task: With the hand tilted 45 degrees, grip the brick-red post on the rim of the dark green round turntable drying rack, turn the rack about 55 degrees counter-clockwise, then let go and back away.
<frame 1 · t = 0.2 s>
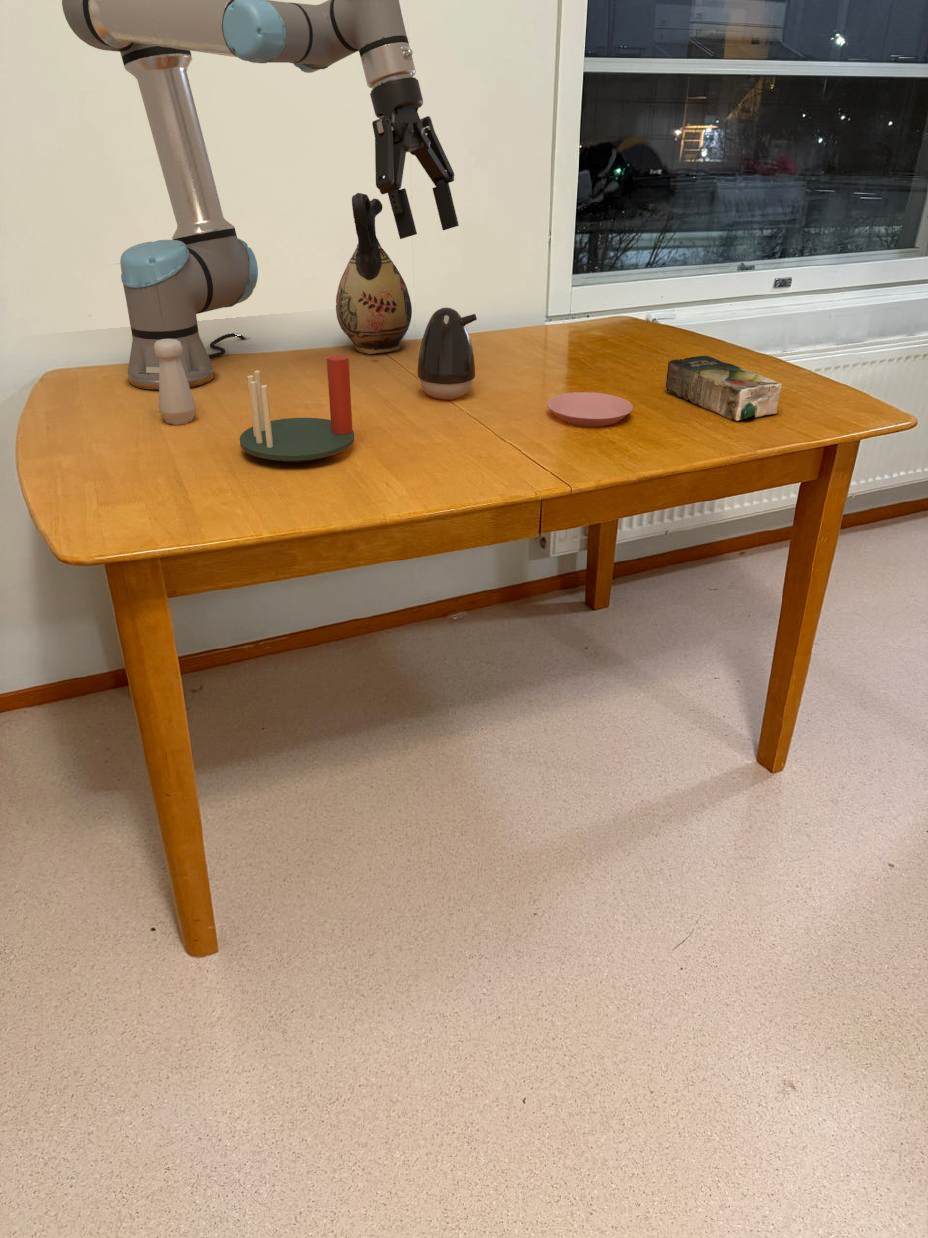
hand: (430, 232, 145), 28 cm above the table, tool tilted 20°, fingers open, 13 cm apart
pump dispenser: (446, 396, 164), on the table
salt shaker: (179, 421, 151), on the table
drying rack: (294, 403, 135), point 7 cm above the table, hinge at 0.0°
juice carton: (719, 404, 162), on the table
rack foot: (298, 450, 139), on the table
plate: (588, 417, 155), on the table
ceramic jug: (374, 350, 191), on the table
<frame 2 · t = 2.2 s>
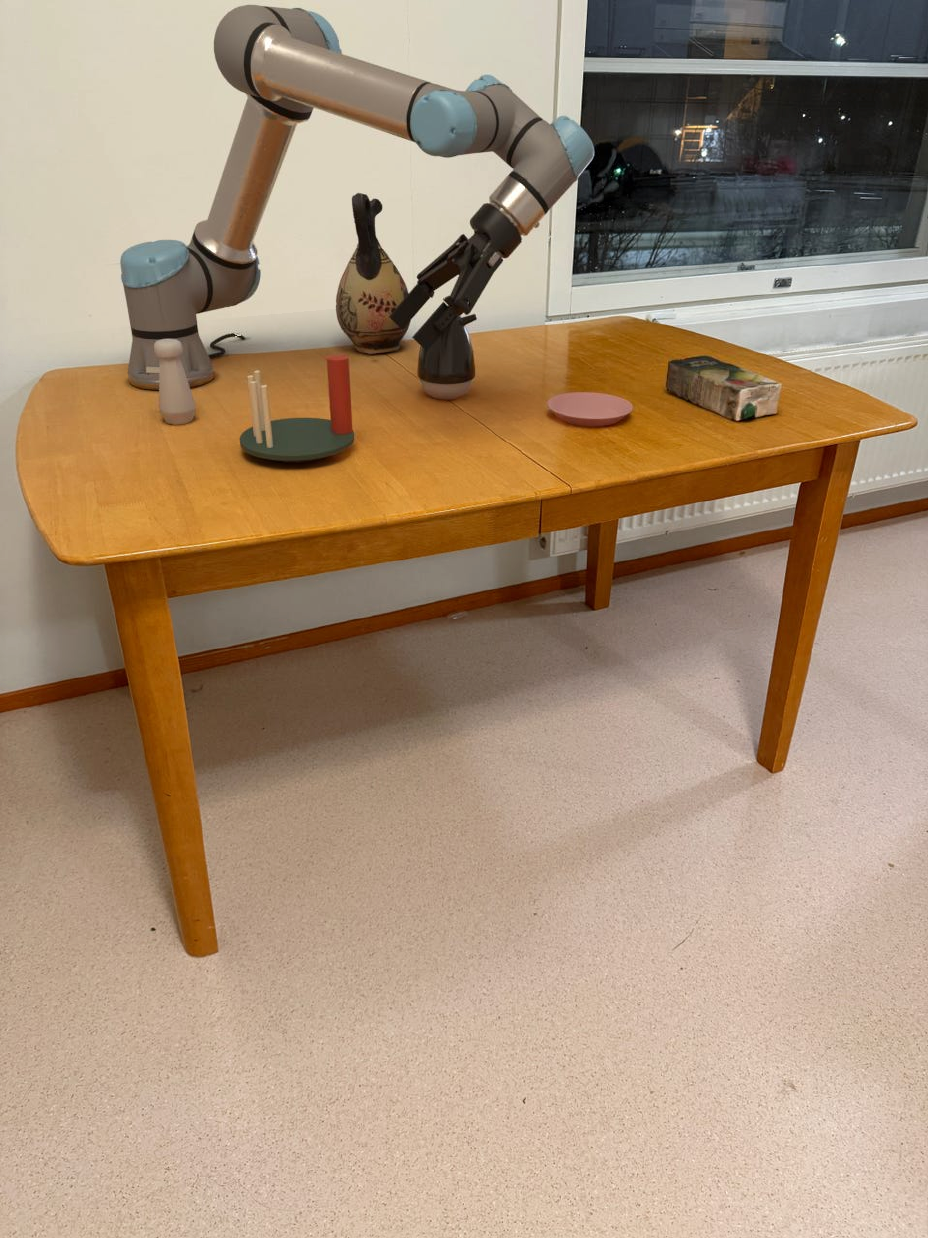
hand: (406, 333, 135), 16 cm above the table, tool tilted 45°, fingers open, 13 cm apart
nothing on the table moved.
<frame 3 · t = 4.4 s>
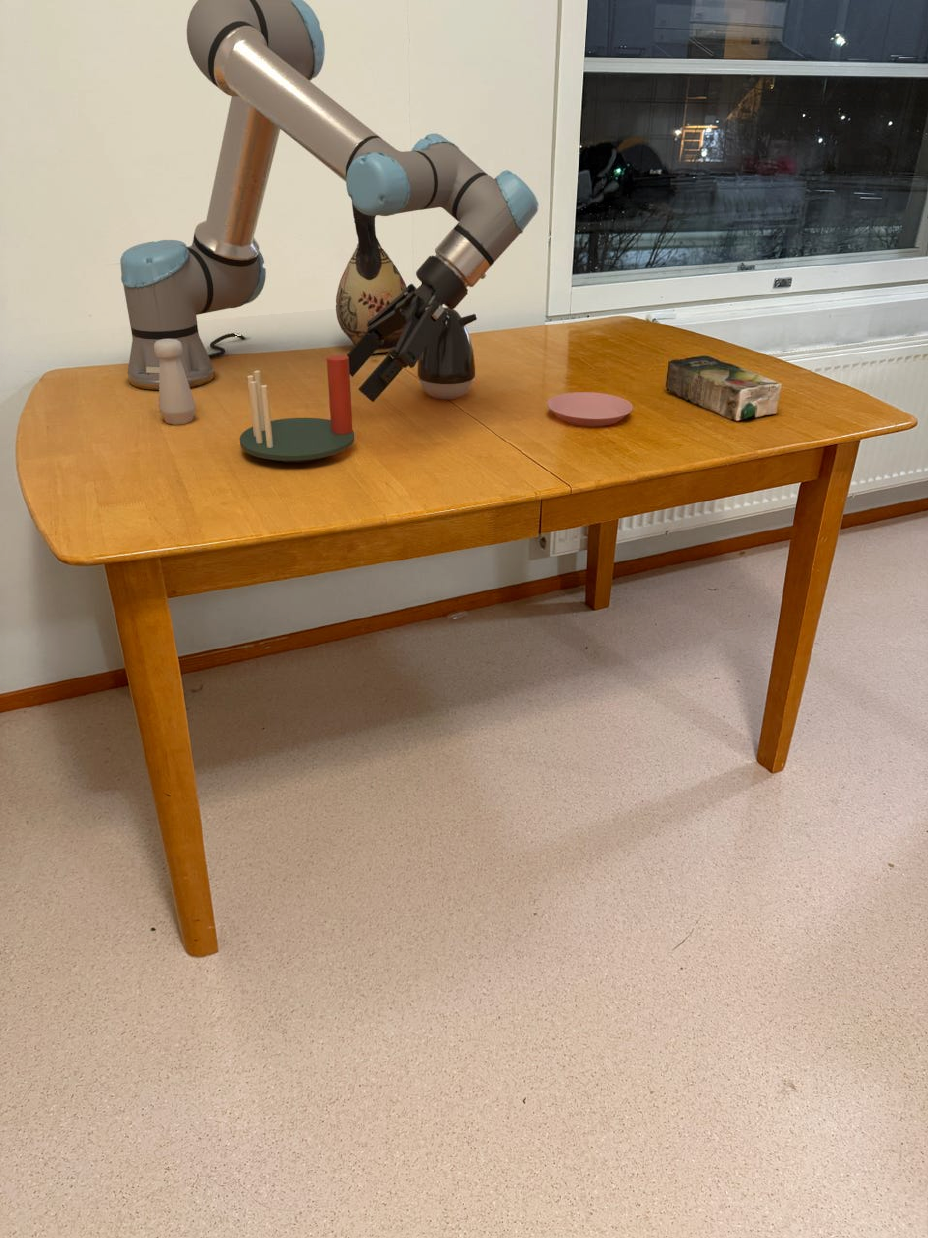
hand: (355, 382, 137), 10 cm above the table, tool tilted 45°, fingers open, 13 cm apart
nothing on the table moved.
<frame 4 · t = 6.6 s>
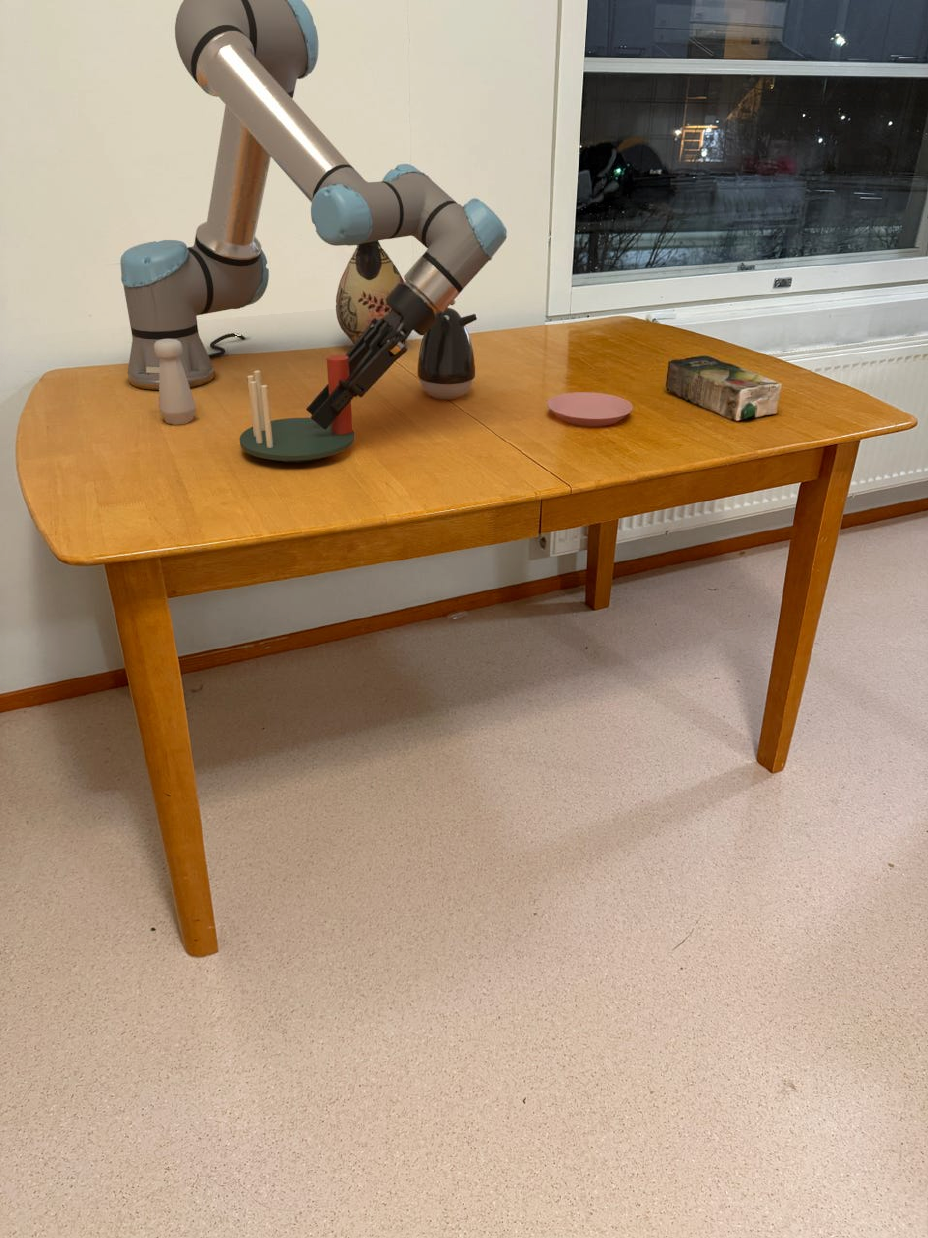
hand: (315, 419, 137), 5 cm above the table, tool tilted 45°, fingers closed on drying rack, 3 cm apart
drying rack: (294, 403, 135), point 7 cm above the table, hinge at 0.0°, touching gripper
everything else where it was.
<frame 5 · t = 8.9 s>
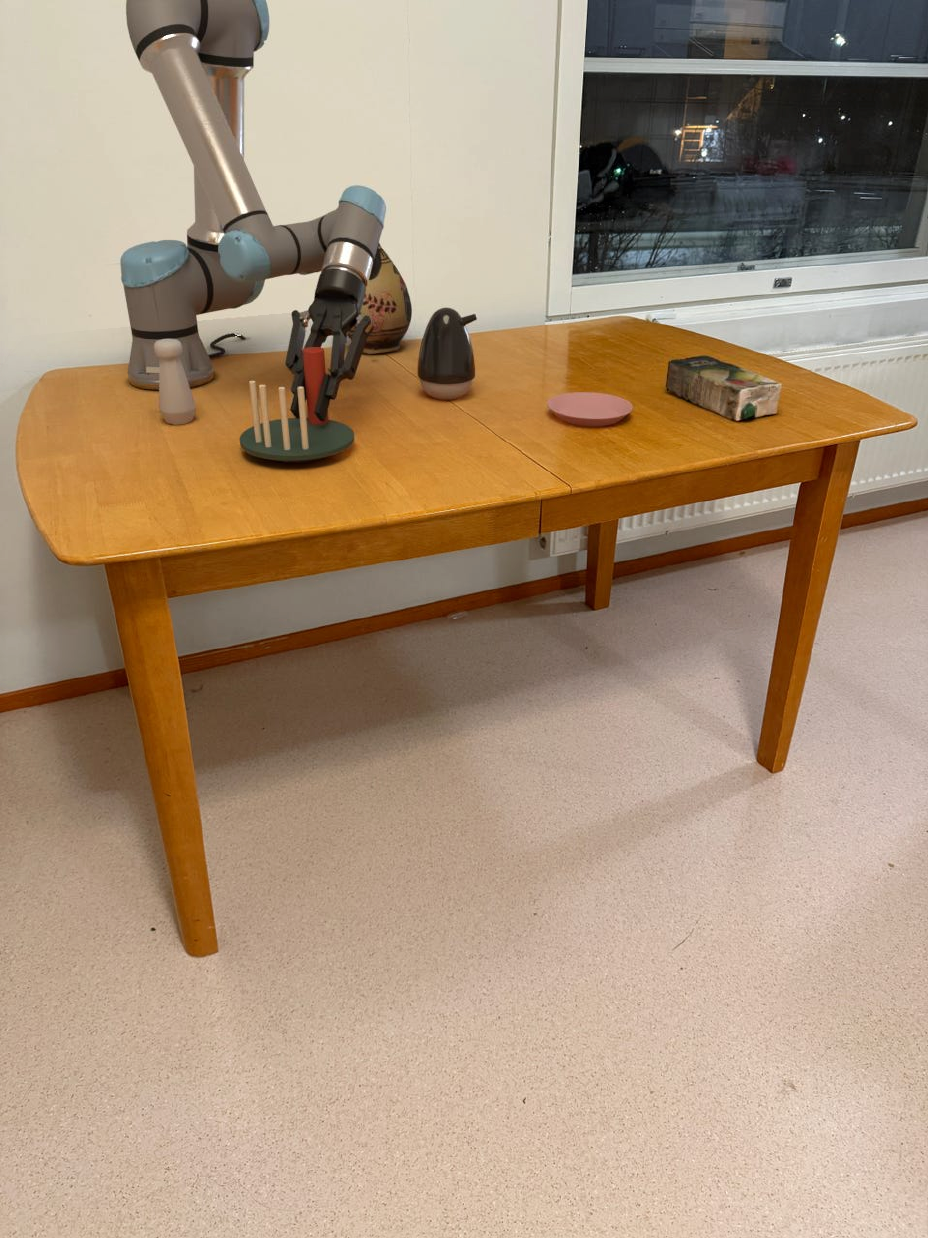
hand: (307, 415, 139), 5 cm above the table, tool tilted 45°, fingers closed on drying rack, 3 cm apart
drying rack: (294, 403, 135), point 7 cm above the table, hinge at 51.9°, touching gripper
everything else where it was.
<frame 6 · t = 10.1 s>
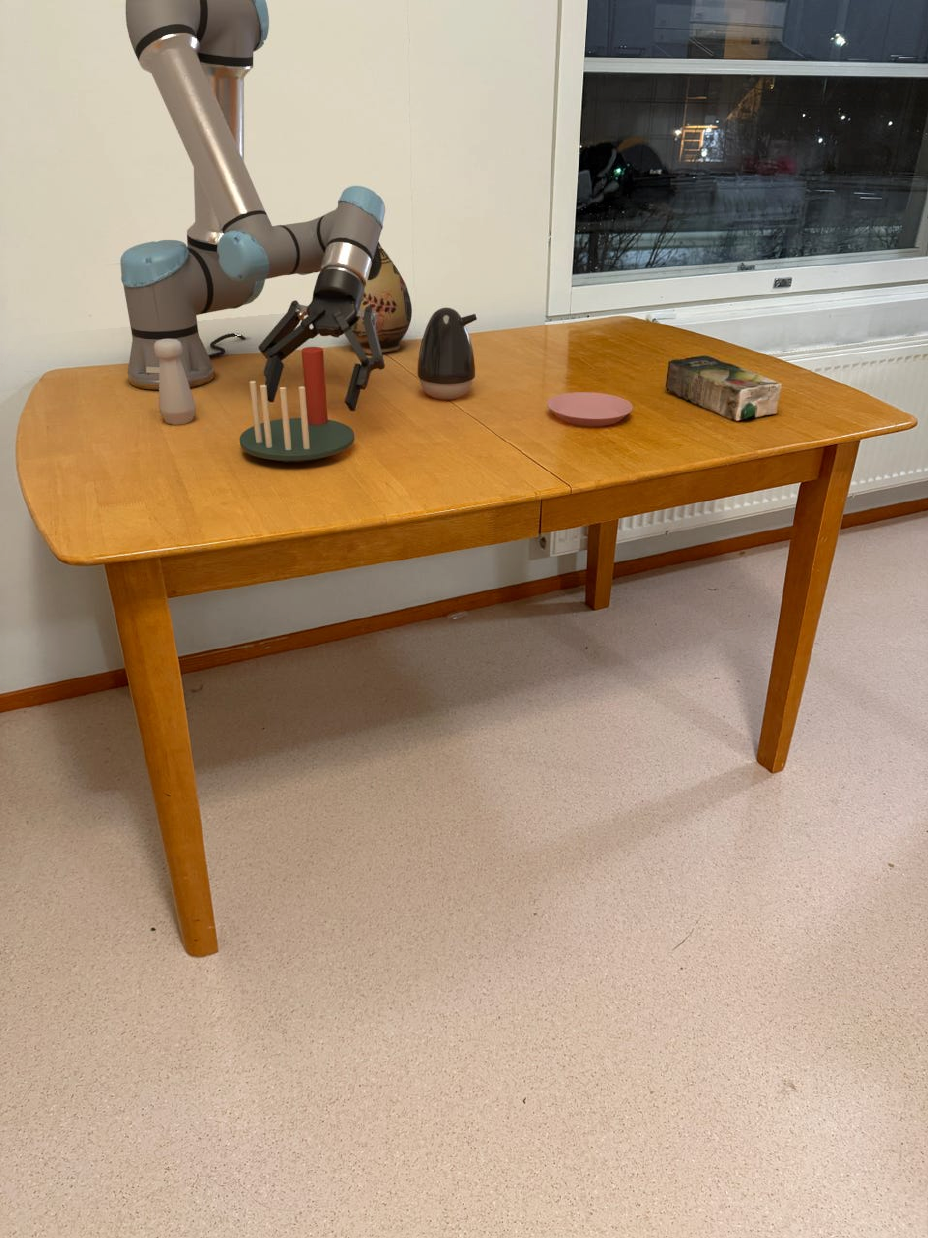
hand: (308, 402, 140), 6 cm above the table, tool tilted 45°, fingers open, 13 cm apart
drying rack: (294, 403, 135), point 7 cm above the table, hinge at 53.5°
everything else where it was.
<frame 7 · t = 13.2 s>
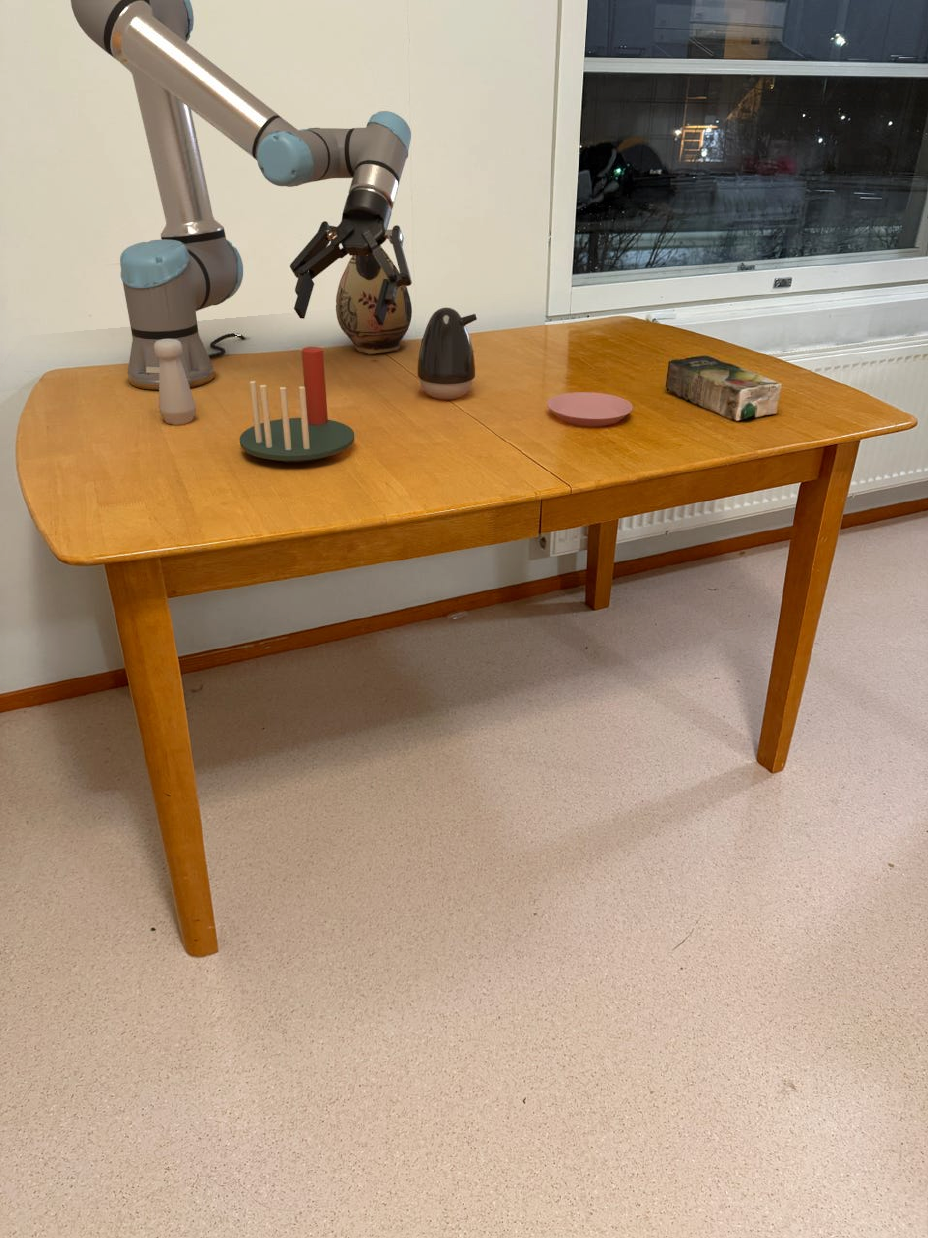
hand: (338, 317, 145), 16 cm above the table, tool tilted 45°, fingers open, 13 cm apart
nothing on the table moved.
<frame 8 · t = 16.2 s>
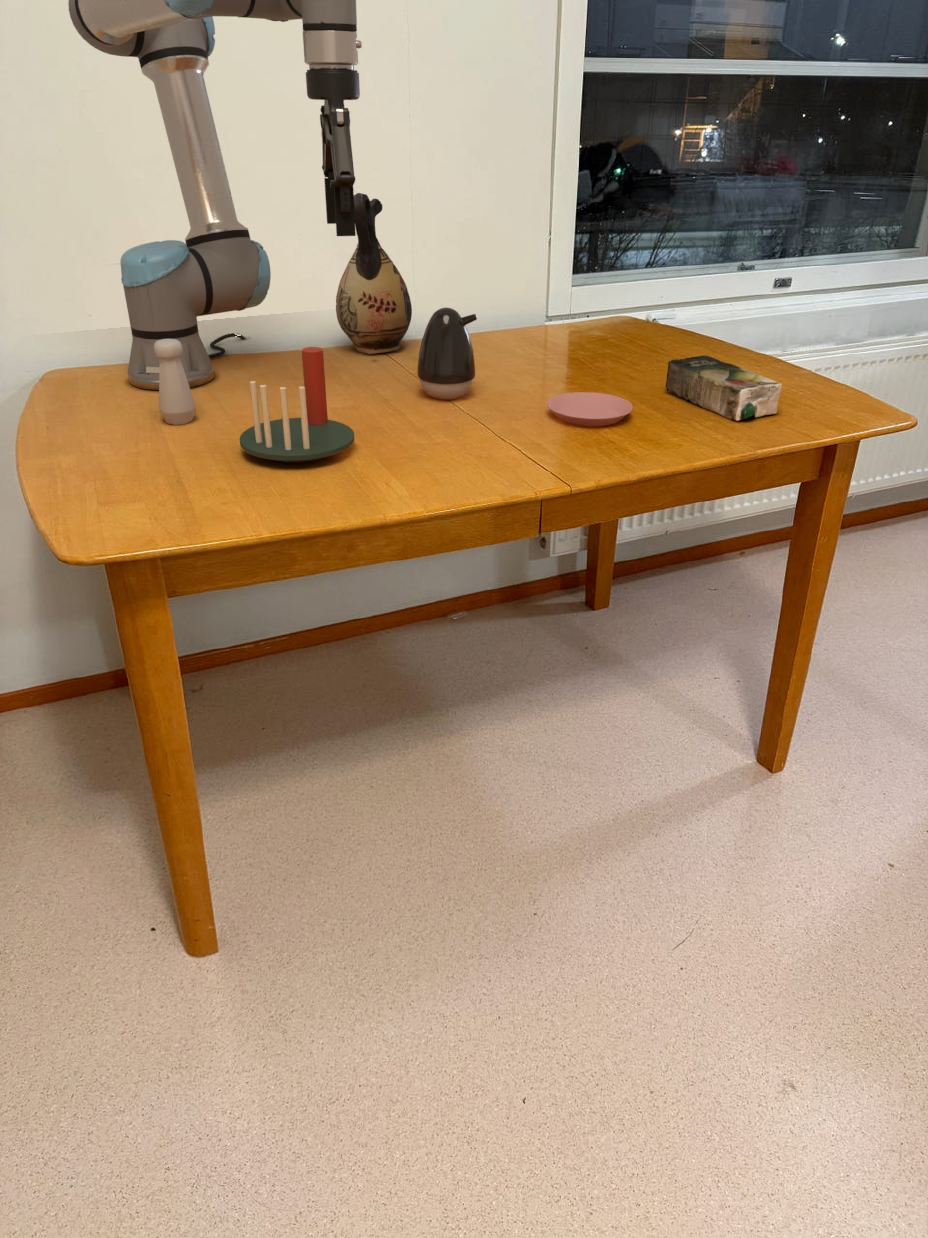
hand: (340, 229, 141), 29 cm above the table, tool pointing down, fingers open, 13 cm apart
nothing on the table moved.
at the end: drying rack at +54° (first picture: +0°); the gripper is holding nothing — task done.
